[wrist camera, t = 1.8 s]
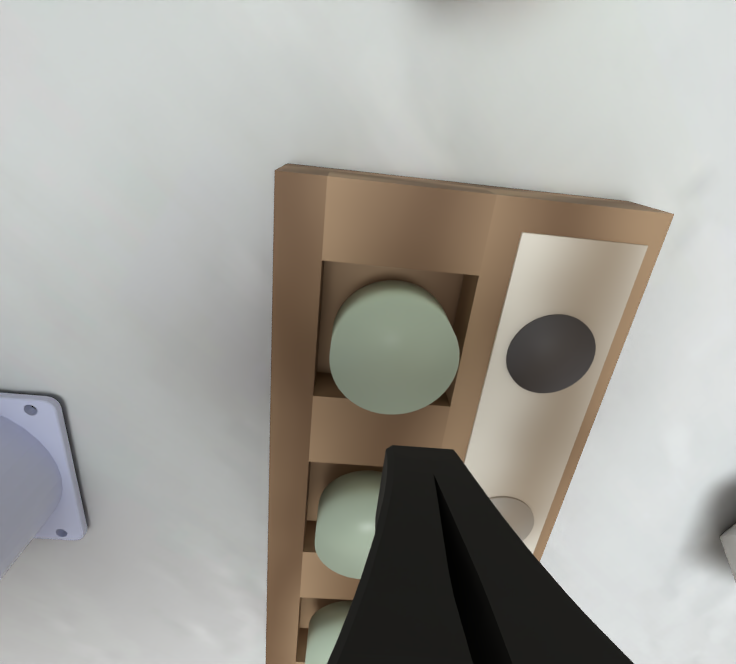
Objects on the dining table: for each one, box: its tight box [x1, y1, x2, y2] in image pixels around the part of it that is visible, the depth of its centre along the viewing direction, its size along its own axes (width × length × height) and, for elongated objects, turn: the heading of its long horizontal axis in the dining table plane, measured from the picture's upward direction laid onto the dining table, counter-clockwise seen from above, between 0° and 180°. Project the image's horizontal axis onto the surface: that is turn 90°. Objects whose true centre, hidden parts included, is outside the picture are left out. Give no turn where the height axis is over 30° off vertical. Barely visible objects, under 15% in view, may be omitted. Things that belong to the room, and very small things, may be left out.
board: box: [266, 164, 674, 664], centre depth 20 cm, size 12×26×3 cm, turn 174°
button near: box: [329, 280, 459, 415], centre depth 15 cm, size 4×4×2 cm
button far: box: [305, 601, 352, 664], centre depth 21 cm, size 4×4×2 cm
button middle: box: [315, 470, 382, 579], centre depth 18 cm, size 4×4×2 cm
